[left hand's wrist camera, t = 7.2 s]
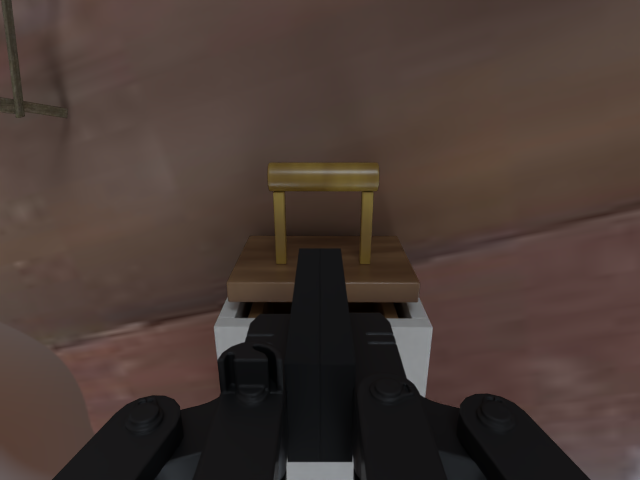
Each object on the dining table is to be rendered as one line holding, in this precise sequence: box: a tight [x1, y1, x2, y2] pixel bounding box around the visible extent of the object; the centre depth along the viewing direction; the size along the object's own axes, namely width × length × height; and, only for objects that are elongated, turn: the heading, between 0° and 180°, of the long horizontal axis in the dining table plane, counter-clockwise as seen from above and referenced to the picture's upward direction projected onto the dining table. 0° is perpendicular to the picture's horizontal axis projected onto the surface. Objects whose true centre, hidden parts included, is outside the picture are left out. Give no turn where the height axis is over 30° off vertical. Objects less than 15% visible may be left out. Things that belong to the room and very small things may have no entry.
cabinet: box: [214, 297, 433, 480], centre depth 29 cm, size 20×11×9 cm, turn 0°
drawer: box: [226, 163, 420, 318], centre depth 27 cm, size 24×10×7 cm, turn 0°
